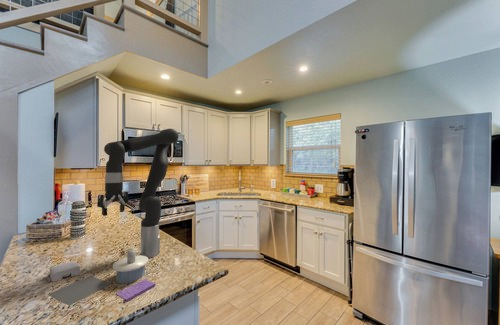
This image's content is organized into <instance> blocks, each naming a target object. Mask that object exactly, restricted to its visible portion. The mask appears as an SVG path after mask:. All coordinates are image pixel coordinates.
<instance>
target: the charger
mask: <svg viewBox="0 0 500 325" xmlns="http://www.w3.org/2000/svg"><path fill="white" fill-rule="evenodd" d="M80 274H81V266H80V265H79V264H78V263H77V261H75V260H71V261H68V262H62V263H59V264H57V265H53V266H51V267H50V268H49V278H50V279H51V281H52V282H53V283H54V282H57V281H60V280H63V278H65V277H66V278H67V277H68V276H70V277H73V276H76V275H80Z"/></svg>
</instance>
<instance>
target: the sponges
mask: <svg viewBox="0 0 500 325" xmlns="http://www.w3.org/2000/svg"><path fill="white" fill-rule="evenodd" d="M155 286H156V283H155V282H153V281H150V280H148V279H146V278H145V279H142V280H140V281H137V283H135V284H133V285H131V286H129V287H126V288H124V289H122V290H120V291H118V292H116V293H115V295H116V296H119V298H120V297H121V298H122V299H123V302H125V303H128V302H129V301H131V300H134V299H135V298H137V297H139V296H140V295H142V294H144V293H146V292H147V291H149V290H151V289H154V288H155Z"/></svg>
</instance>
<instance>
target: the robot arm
mask: <svg viewBox="0 0 500 325" xmlns="http://www.w3.org/2000/svg"><path fill="white" fill-rule="evenodd" d="M178 139H179V133H178V131H177V130H176V129H174V128H165V129H162V130H160V131H159V133H154V134H149V135H143V136H137V137H131V138H127V139H124V140H118V141H112V142H108V143H106V144H105V145H104V149H103V150H104V153H105V154H106V155H108V160H107V162H106V164H105V176H104V192H105V193H104V194H98V195H97V204H96V205H97V208H101V215H102V216H103V217H106V216H108V207H109V205H111V203H114V202H118V203H119V213H124V212H125V209H126V207H125V205H126V204H128V203H130V202H129V201H130V200H129V191H123V189H124V181H123V180H124V175H123V162H124V159H125V155H126V153H129V152H130V153H132V152H137V151H141V150H145V149H147V148H150V147H151V148H152V147H155V146H156V147H155V151H154V155H153V159H152V162H151V165H150V168H149V173H148V176H147V178H146V179H147V180H146V183H145V186H144V188H143V190H142V191H143V192H142V194H141V195H140V196H141V197H140V199H139V201H138V208H139V210H140V212H144V214H145V215H144V219H141V222H140V252H139V255H141V256H146V257H148V259H150V258H154V257H156V256H158V255H159V254H160V252H161V236H160V235H159V234H160V231H159V229H160V219H161V217H162V216H161V213H162V203H161V199H160V198H159V197H157V196H156V192H157V190H158V188H159V186H160V184H162V182H163V181H164V179H165V178H166V175H167V172H168V168H169V159H168V151H169V146H170V145H171V144H174V143H176V142H177V141H178Z"/></svg>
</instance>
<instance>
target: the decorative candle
mask: <svg viewBox="0 0 500 325" xmlns="http://www.w3.org/2000/svg"><path fill="white" fill-rule="evenodd" d="M69 215H70V216H69V220H70V228H69V229H70V230H69V239H70V240H79V239H78V238H80V239H83V238H85V237H86V236H85V235H86V227H87V226H86V220H87V217H86V216H87V207H86V202H85V201H84V200H77V201H73V202H72V203H71V209H70V211H69ZM84 236H85V237H84ZM82 237H83V238H82Z"/></svg>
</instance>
